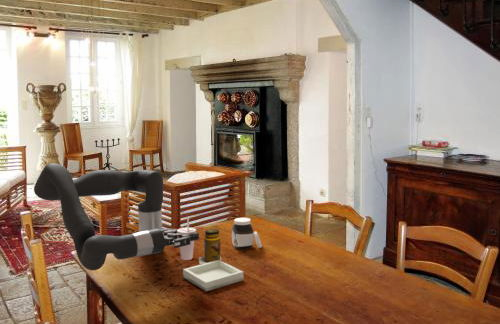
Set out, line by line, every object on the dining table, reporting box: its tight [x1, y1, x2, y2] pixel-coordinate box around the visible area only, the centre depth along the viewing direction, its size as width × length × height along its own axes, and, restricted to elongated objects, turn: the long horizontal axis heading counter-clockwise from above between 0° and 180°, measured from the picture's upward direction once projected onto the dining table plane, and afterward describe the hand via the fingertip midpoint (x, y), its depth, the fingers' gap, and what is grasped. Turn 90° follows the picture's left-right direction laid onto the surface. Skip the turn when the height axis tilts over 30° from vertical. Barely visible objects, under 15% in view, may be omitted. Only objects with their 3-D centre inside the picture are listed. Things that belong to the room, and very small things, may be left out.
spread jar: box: [231, 217, 263, 250], centre depth 197 cm, size 12×11×12 cm
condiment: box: [198, 228, 222, 265], centre depth 181 cm, size 7×8×12 cm
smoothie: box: [177, 216, 197, 261], centre depth 157 cm, size 6×6×14 cm
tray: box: [182, 259, 244, 292], centre depth 163 cm, size 15×15×3 cm
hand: (192, 233), depth 158 cm, fingers closed on smoothie, 6 cm apart
